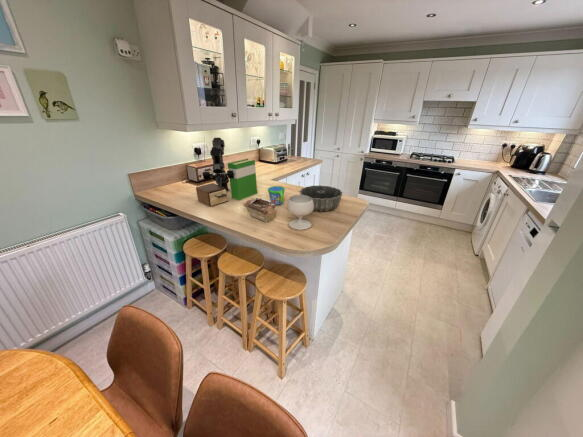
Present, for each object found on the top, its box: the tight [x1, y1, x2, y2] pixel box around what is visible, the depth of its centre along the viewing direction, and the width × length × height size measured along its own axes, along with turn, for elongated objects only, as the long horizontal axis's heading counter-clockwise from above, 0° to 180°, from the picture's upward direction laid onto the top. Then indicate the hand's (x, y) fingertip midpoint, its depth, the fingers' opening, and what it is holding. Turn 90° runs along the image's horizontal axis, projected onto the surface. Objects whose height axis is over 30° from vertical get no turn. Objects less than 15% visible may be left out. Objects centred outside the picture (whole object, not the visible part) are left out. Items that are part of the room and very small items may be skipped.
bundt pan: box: [299, 184, 344, 212], centre depth 145 cm, size 26×26×10 cm
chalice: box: [286, 194, 314, 231], centre depth 121 cm, size 14×14×15 cm
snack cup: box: [267, 185, 286, 206], centre depth 150 cm, size 16×10×10 cm
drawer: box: [209, 189, 228, 207], centre depth 151 cm, size 18×11×8 cm, turn 48°
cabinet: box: [195, 182, 227, 207], centre depth 154 cm, size 15×13×10 cm
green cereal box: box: [227, 158, 258, 201], centre depth 160 cm, size 18×7×24 cm, turn 145°
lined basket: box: [242, 197, 277, 223], centre depth 131 cm, size 13×20×10 cm, turn 43°
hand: (219, 187), depth 145 cm, fingers closed
